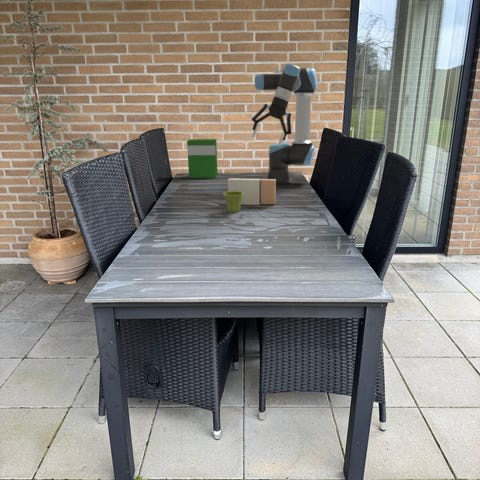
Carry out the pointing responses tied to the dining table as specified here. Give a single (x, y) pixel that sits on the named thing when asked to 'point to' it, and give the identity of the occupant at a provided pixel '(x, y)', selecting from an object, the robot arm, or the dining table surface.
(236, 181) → the block
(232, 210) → the plant pot
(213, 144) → the hardback book
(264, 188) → the tan rectangular block
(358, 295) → the dining table surface
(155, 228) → the dining table surface
